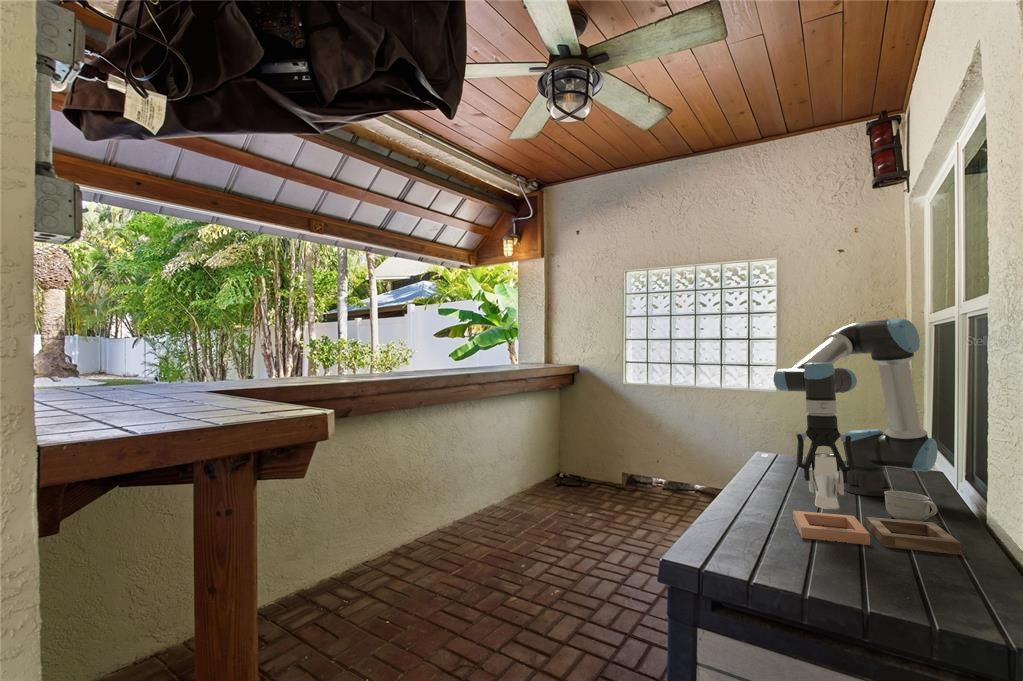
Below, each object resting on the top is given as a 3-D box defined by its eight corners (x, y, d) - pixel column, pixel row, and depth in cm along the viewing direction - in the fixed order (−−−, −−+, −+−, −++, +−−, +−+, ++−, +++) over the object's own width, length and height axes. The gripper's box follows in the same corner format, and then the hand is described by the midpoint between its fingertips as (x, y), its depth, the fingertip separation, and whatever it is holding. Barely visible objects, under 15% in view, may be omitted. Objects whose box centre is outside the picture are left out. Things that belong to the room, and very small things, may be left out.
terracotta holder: (793, 520, 147) (792, 510, 148) (854, 525, 141) (853, 515, 141) (801, 537, 133) (801, 527, 133) (870, 545, 126) (869, 533, 126)
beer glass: (846, 510, 133) (843, 457, 134) (819, 509, 134) (816, 457, 135) (834, 503, 140) (831, 453, 141) (809, 502, 141) (806, 452, 142)
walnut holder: (866, 527, 140) (865, 516, 140) (934, 533, 133) (933, 522, 133) (884, 546, 125) (883, 535, 125) (961, 554, 119) (960, 542, 119)
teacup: (877, 514, 150) (875, 489, 151) (911, 514, 150) (910, 489, 150) (913, 530, 136) (911, 502, 137) (951, 529, 136) (949, 501, 137)
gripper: (785, 415, 139) (789, 493, 138) (865, 416, 131) (871, 499, 130) (781, 412, 146) (786, 486, 145) (858, 413, 138) (863, 492, 137)
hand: (826, 492), depth 137 cm, fingers closed on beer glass, 7 cm apart
